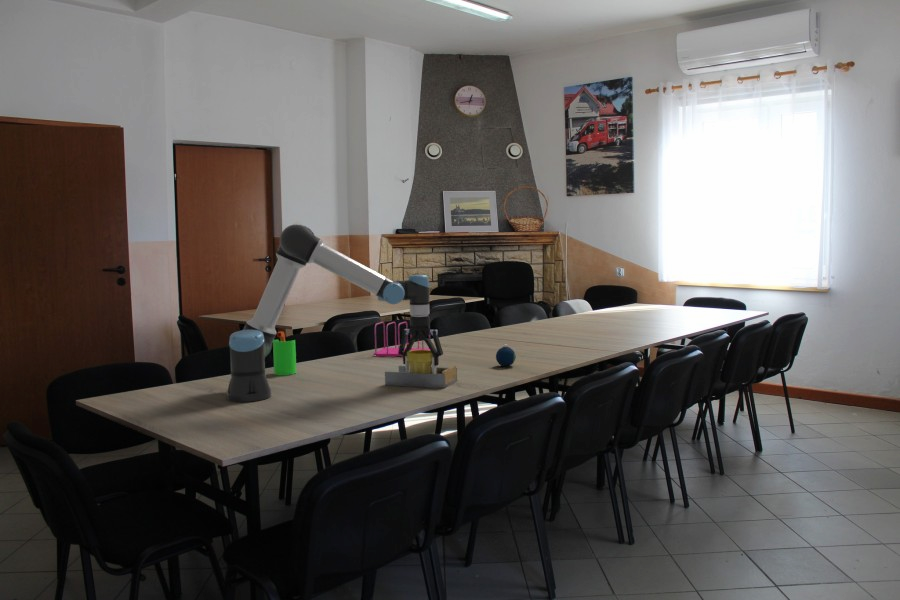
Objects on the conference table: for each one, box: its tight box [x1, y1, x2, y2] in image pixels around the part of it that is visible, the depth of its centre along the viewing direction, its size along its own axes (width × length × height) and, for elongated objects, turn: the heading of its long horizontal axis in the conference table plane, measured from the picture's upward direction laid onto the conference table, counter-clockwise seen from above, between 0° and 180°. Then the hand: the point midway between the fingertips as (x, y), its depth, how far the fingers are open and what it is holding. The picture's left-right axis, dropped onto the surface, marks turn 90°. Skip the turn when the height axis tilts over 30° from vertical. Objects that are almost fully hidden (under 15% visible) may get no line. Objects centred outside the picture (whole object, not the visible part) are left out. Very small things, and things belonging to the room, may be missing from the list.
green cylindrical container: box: [272, 331, 297, 376], centre depth 294 cm, size 9×8×18 cm
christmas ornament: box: [495, 343, 516, 367], centre depth 302 cm, size 8×8×10 cm
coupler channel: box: [384, 365, 458, 389], centre depth 270 cm, size 14×24×6 cm, turn 70°
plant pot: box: [407, 350, 434, 373], centre depth 270 cm, size 10×10×10 cm
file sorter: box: [373, 321, 431, 358], centre depth 340 cm, size 17×25×16 cm
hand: (421, 373), depth 270 cm, fingers closed on plant pot, 10 cm apart
